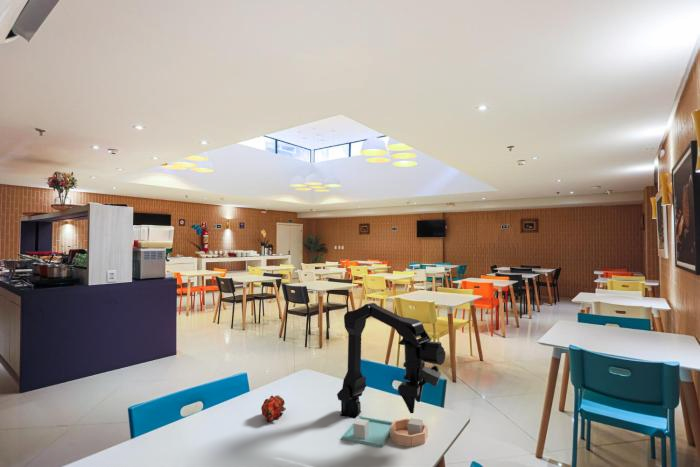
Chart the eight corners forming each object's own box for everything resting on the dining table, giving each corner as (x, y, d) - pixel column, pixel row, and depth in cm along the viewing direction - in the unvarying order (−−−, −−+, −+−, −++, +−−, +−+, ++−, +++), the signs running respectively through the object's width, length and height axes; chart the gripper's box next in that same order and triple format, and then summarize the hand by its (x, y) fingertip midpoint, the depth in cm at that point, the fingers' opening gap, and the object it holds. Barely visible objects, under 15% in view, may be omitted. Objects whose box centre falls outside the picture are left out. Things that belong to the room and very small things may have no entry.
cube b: (420, 441, 119) (419, 425, 119) (408, 438, 120) (407, 423, 121) (423, 435, 122) (422, 419, 123) (411, 433, 124) (410, 418, 124)
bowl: (386, 443, 119) (386, 431, 119) (396, 426, 130) (396, 416, 130) (422, 449, 115) (422, 438, 115) (429, 432, 125) (429, 422, 125)
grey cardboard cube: (353, 439, 122) (353, 423, 122) (358, 433, 125) (357, 418, 125) (365, 441, 120) (364, 425, 120) (369, 435, 124) (368, 420, 124)
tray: (341, 440, 122) (341, 436, 122) (359, 419, 136) (359, 416, 136) (382, 448, 116) (381, 444, 116) (396, 425, 131) (396, 422, 131)
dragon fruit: (280, 414, 146) (270, 434, 134) (263, 401, 146) (251, 420, 134) (292, 398, 144) (283, 416, 132) (274, 385, 145) (263, 403, 133)
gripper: (432, 370, 111) (434, 423, 110) (442, 353, 128) (444, 399, 127) (396, 366, 115) (398, 417, 114) (411, 351, 132) (412, 395, 132)
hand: (415, 407), depth 122 cm, fingers open, 9 cm apart
